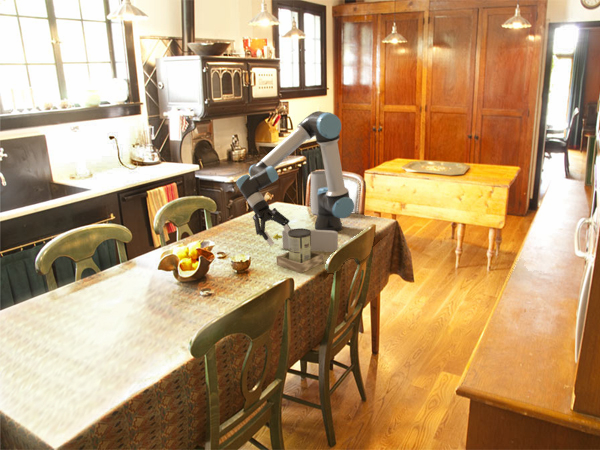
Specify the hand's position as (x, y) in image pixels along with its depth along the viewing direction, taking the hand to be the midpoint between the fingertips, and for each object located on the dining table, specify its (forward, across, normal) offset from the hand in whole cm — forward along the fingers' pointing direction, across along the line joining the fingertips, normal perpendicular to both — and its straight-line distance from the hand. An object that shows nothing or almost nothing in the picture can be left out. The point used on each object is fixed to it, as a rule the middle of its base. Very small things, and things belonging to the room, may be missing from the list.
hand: (282, 240), depth 225 cm
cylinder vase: (-17, -71, -31) cm, 79 cm away
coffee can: (+13, 0, +2) cm, 13 cm away
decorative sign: (+6, -16, -7) cm, 19 cm away
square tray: (+14, 0, +2) cm, 14 cm away
